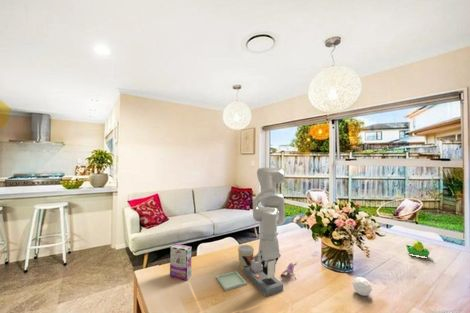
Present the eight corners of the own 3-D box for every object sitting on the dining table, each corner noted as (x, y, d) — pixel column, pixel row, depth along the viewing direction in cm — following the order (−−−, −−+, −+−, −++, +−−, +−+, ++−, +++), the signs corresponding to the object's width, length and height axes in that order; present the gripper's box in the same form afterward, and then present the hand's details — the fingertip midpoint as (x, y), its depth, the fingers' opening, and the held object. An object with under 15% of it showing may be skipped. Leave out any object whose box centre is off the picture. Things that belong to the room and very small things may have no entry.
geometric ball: (364, 302, 97) (363, 294, 93) (349, 287, 104) (348, 279, 100) (375, 293, 98) (375, 284, 95) (361, 279, 105) (360, 270, 101)
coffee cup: (242, 274, 115) (243, 252, 116) (235, 266, 124) (235, 246, 124) (256, 270, 120) (256, 249, 120) (248, 263, 128) (248, 243, 128)
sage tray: (236, 273, 116) (236, 270, 116) (246, 285, 105) (246, 282, 105) (216, 279, 110) (216, 275, 110) (225, 292, 99) (225, 288, 100)
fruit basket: (427, 256, 140) (427, 239, 140) (430, 261, 133) (430, 244, 133) (405, 252, 146) (405, 236, 147) (408, 256, 139) (407, 240, 139)
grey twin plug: (257, 272, 116) (257, 255, 116) (261, 276, 112) (261, 258, 113) (251, 274, 114) (251, 257, 114) (254, 278, 111) (255, 260, 111)
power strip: (243, 274, 116) (244, 266, 116) (258, 269, 120) (258, 263, 120) (266, 297, 96) (266, 288, 96) (283, 291, 100) (283, 283, 100)
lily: (300, 274, 117) (292, 257, 121) (308, 277, 107) (300, 258, 110) (282, 283, 115) (274, 265, 118) (289, 287, 104) (281, 267, 107)
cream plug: (269, 272, 105) (270, 253, 105) (274, 276, 102) (274, 257, 102) (263, 274, 103) (263, 255, 104) (268, 278, 100) (268, 258, 100)
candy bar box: (191, 276, 113) (192, 246, 113) (186, 281, 108) (187, 250, 109) (175, 272, 117) (175, 243, 117) (169, 276, 112) (169, 246, 112)
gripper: (277, 231, 110) (277, 265, 110) (251, 236, 103) (250, 272, 102) (287, 235, 103) (286, 272, 103) (259, 241, 96) (259, 280, 96)
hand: (268, 272), depth 103 cm, fingers closed on cream plug, 4 cm apart
